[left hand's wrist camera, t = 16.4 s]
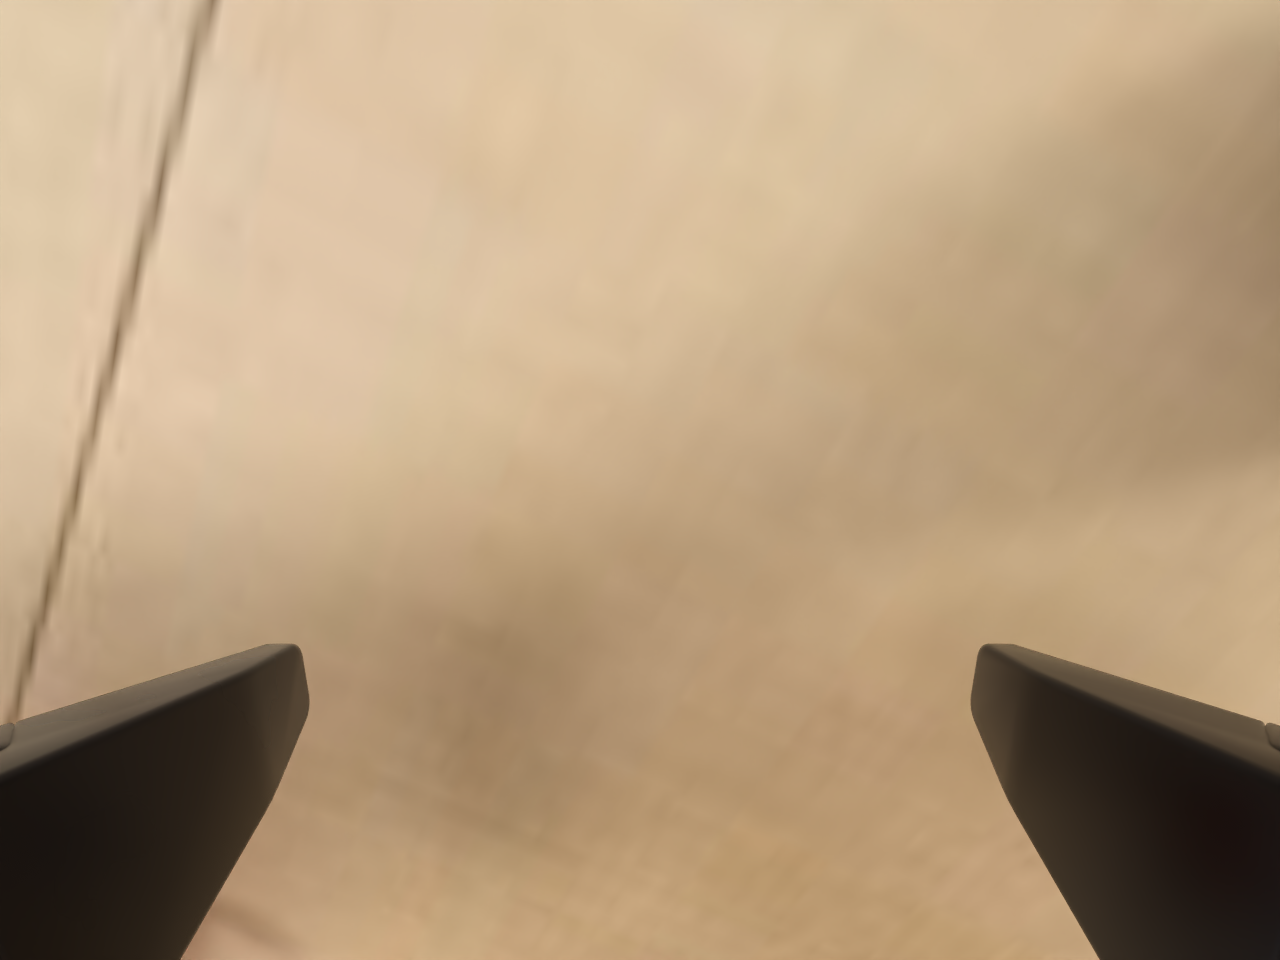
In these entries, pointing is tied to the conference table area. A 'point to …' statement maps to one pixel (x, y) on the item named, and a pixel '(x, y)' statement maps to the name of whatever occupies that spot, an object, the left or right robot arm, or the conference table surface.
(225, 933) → the conference table surface
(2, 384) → the conference table surface
